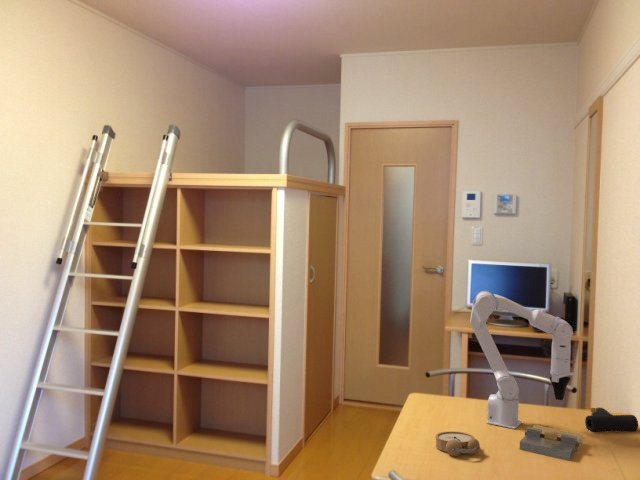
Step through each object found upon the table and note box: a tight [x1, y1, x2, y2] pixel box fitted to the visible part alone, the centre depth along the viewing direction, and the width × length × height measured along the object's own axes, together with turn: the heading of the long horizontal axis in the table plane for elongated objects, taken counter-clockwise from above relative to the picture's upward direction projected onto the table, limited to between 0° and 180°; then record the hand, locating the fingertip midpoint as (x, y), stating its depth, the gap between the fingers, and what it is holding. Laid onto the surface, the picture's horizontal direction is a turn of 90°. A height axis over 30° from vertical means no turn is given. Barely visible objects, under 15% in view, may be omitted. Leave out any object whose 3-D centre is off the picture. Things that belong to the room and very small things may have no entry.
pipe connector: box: [584, 407, 639, 433], centre depth 201 cm, size 12×5×15 cm
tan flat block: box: [531, 424, 583, 451], centre depth 186 cm, size 14×9×4 cm, turn 56°
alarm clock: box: [435, 430, 481, 457], centre depth 179 cm, size 11×5×15 cm
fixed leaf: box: [519, 426, 579, 462], centre depth 180 cm, size 15×9×4 cm, turn 56°
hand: (559, 399), depth 199 cm, fingers closed
